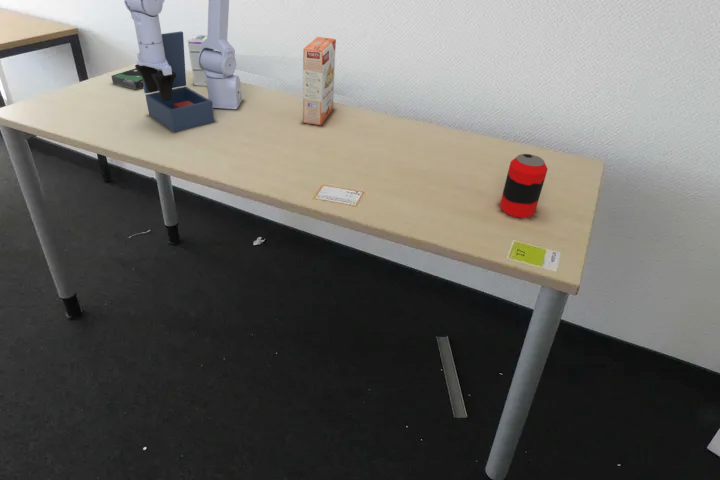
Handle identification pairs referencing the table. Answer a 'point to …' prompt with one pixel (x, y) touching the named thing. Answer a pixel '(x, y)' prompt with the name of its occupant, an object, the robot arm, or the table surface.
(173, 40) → the lid
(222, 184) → the table surface
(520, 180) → the soda can
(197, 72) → the syrup box
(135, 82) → the disk drive
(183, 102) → the block
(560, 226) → the table surface
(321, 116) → the cracker box
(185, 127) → the toy box
